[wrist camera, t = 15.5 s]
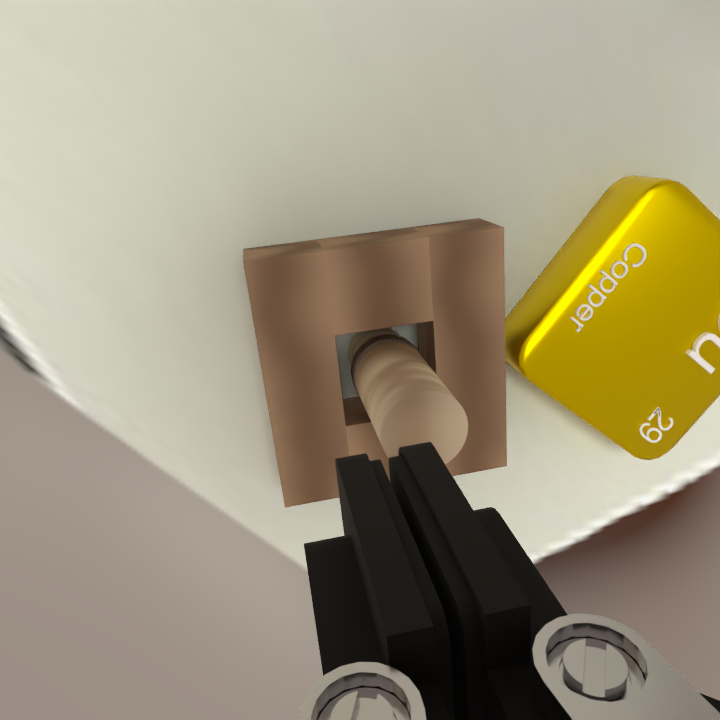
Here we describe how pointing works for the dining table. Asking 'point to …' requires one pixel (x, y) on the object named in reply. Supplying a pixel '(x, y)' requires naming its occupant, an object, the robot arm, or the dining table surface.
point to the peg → (404, 395)
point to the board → (369, 312)
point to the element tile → (628, 317)
